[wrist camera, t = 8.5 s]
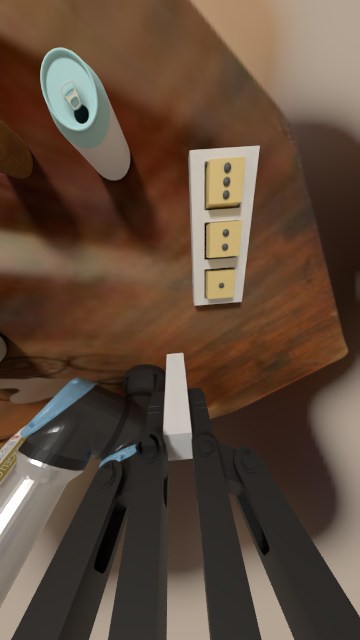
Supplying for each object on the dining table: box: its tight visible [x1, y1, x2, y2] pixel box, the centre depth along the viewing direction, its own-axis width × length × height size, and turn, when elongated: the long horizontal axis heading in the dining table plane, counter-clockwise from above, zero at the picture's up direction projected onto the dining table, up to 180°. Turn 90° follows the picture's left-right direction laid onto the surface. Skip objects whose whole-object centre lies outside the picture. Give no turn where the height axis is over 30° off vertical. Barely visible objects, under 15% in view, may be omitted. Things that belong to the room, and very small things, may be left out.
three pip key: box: [205, 157, 246, 209], centre depth 27 cm, size 6×6×4 cm
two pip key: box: [206, 221, 242, 258], centre depth 30 cm, size 6×6×4 cm
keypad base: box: [188, 146, 260, 306], centre depth 32 cm, size 28×12×2 cm, turn 4°
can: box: [40, 48, 130, 180], centre depth 21 cm, size 7×7×12 cm
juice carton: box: [0, 428, 27, 488], centre depth 51 cm, size 8×9×19 cm
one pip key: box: [205, 269, 236, 299], centre depth 35 cm, size 6×6×4 cm
